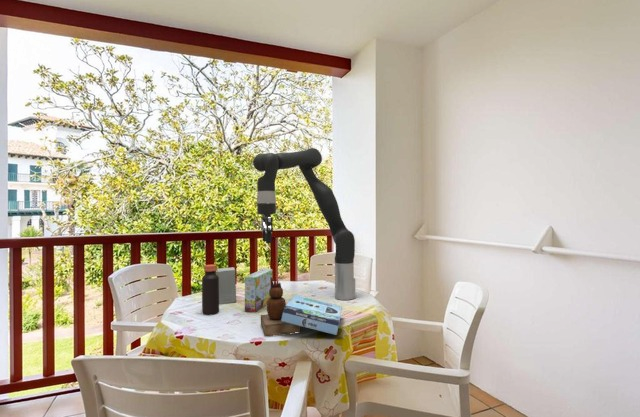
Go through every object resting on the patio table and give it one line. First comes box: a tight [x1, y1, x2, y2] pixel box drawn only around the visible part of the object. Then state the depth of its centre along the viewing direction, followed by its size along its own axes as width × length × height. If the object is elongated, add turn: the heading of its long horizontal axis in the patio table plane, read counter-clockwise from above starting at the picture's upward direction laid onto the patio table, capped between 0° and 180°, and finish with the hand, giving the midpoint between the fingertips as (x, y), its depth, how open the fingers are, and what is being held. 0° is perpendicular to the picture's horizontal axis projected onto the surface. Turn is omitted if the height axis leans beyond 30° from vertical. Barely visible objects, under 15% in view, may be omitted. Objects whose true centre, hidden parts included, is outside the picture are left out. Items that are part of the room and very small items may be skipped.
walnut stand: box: [260, 313, 301, 337], centre depth 125 cm, size 12×12×4 cm
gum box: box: [281, 294, 343, 336], centre depth 127 cm, size 20×5×23 cm
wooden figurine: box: [266, 276, 287, 320], centre depth 125 cm, size 7×6×15 cm
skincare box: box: [216, 266, 237, 305], centre depth 163 cm, size 8×7×16 cm
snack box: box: [244, 268, 274, 313], centre depth 157 cm, size 21×6×15 cm, turn 168°
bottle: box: [201, 264, 220, 316], centre depth 146 cm, size 7×7×20 cm
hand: (267, 242), depth 142 cm, fingers open, 8 cm apart
